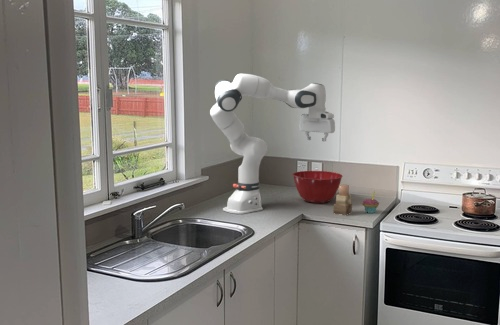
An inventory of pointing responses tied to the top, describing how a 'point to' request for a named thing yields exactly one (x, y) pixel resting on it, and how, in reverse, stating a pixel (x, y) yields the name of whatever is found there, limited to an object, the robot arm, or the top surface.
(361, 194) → the top surface
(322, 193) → the mixing bowl
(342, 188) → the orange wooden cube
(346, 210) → the tower base
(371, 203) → the cupcake
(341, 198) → the tower top
